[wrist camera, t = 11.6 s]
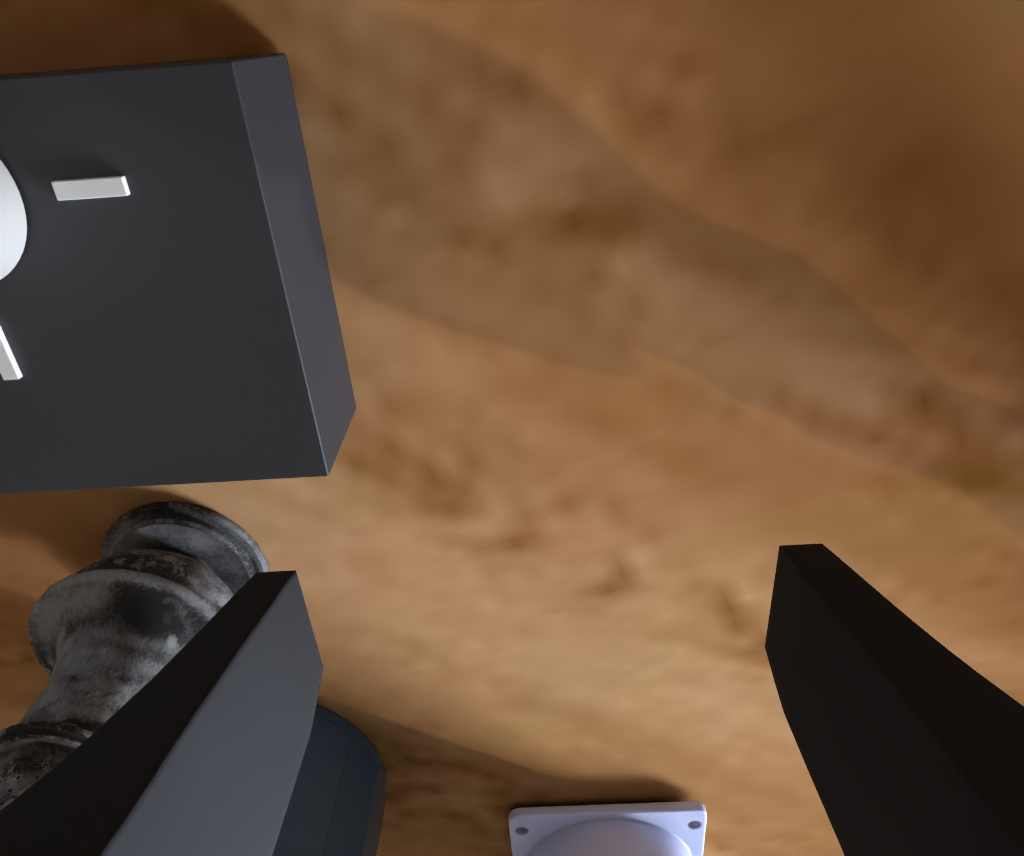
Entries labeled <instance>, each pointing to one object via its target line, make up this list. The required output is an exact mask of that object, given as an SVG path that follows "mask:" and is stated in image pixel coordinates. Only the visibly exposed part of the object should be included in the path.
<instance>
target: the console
mask: <svg viewBox="0 0 1024 856" xmlns="http://www.w3.org/2000/svg"><path fill="white" fill-rule="evenodd" d="M0 160H1V161H2V162H3V164H4V165H5V167H6V168H7V169H8V171H9V173H10V174H11V176H12V178H13V180H14V181H15V183H16V186H17V188H18V190H19V192H20V195H21V198H22V201H23V204H24V208H25V213H26V220H27V236H26V242H25V247H24V250H23V253H22V255H21V257H20V260H19V261H18V263H17V264H16V266H15V267H14V269H13V270H12V271H11V272H10V273H9V274H8V275H6V276H5V277H4V278H2V279H1V280H0V494H9V493H27V492H45V491H63V490H81V489H99V488H117V487H135V486H153V485H171V484H189V483H207V482H225V481H243V480H261V479H279V478H297V477H315V476H328V475H329V473H330V470H331V468H332V465H333V463H334V461H335V458H336V456H337V453H338V451H339V448H340V446H341V444H342V441H343V439H344V436H345V434H346V432H347V429H348V427H349V424H350V422H351V419H352V417H353V415H354V412H355V410H356V406H355V400H354V395H353V390H352V385H351V380H350V375H349V370H348V365H347V360H346V355H345V350H344V345H343V340H342V335H341V330H340V325H339V320H338V315H337V310H336V305H335V300H334V294H333V289H332V284H331V279H330V274H329V269H328V264H327V259H326V254H325V249H324V244H323V239H322V234H321V229H320V224H319V219H318V214H317V209H316V204H315V199H314V194H313V189H312V183H311V178H310V173H309V168H308V163H307V158H306V153H305V148H304V143H303V138H302V133H301V128H300V123H299V118H298V113H297V108H296V103H295V98H294V93H293V88H292V83H291V78H290V72H289V67H288V62H287V57H286V54H284V53H279V54H266V55H253V56H241V57H228V58H215V59H202V60H189V61H176V62H163V63H150V64H138V65H125V66H112V67H99V68H86V69H73V70H60V71H48V72H35V73H22V74H9V75H0Z"/></svg>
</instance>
